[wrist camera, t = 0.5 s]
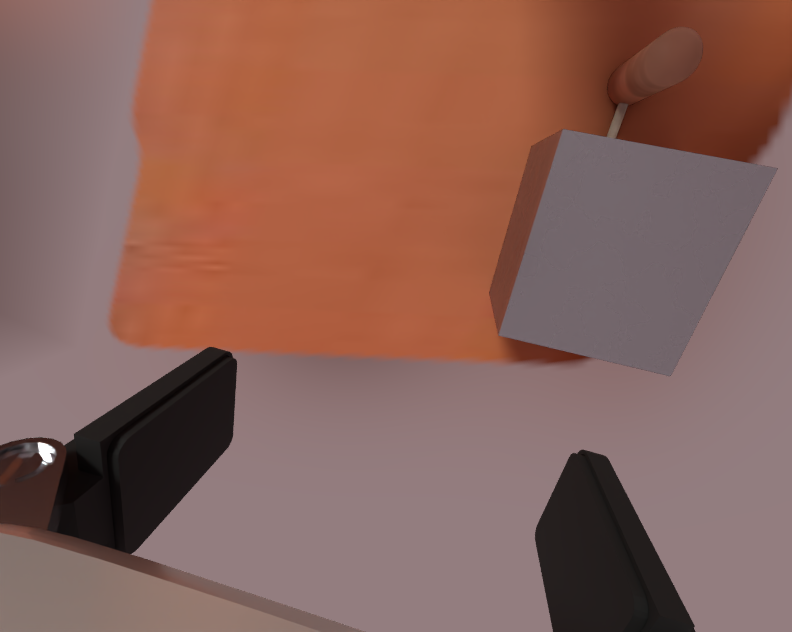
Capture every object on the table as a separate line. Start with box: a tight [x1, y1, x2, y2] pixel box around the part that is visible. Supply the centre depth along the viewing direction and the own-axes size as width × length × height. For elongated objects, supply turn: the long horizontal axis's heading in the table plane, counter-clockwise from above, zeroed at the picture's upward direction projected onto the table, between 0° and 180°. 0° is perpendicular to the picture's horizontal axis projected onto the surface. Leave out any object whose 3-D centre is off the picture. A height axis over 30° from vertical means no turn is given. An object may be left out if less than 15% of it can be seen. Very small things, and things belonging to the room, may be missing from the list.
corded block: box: [607, 27, 703, 139], centre depth 29 cm, size 18×6×7 cm, turn 169°
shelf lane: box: [489, 129, 778, 376], centre depth 29 cm, size 13×12×11 cm
